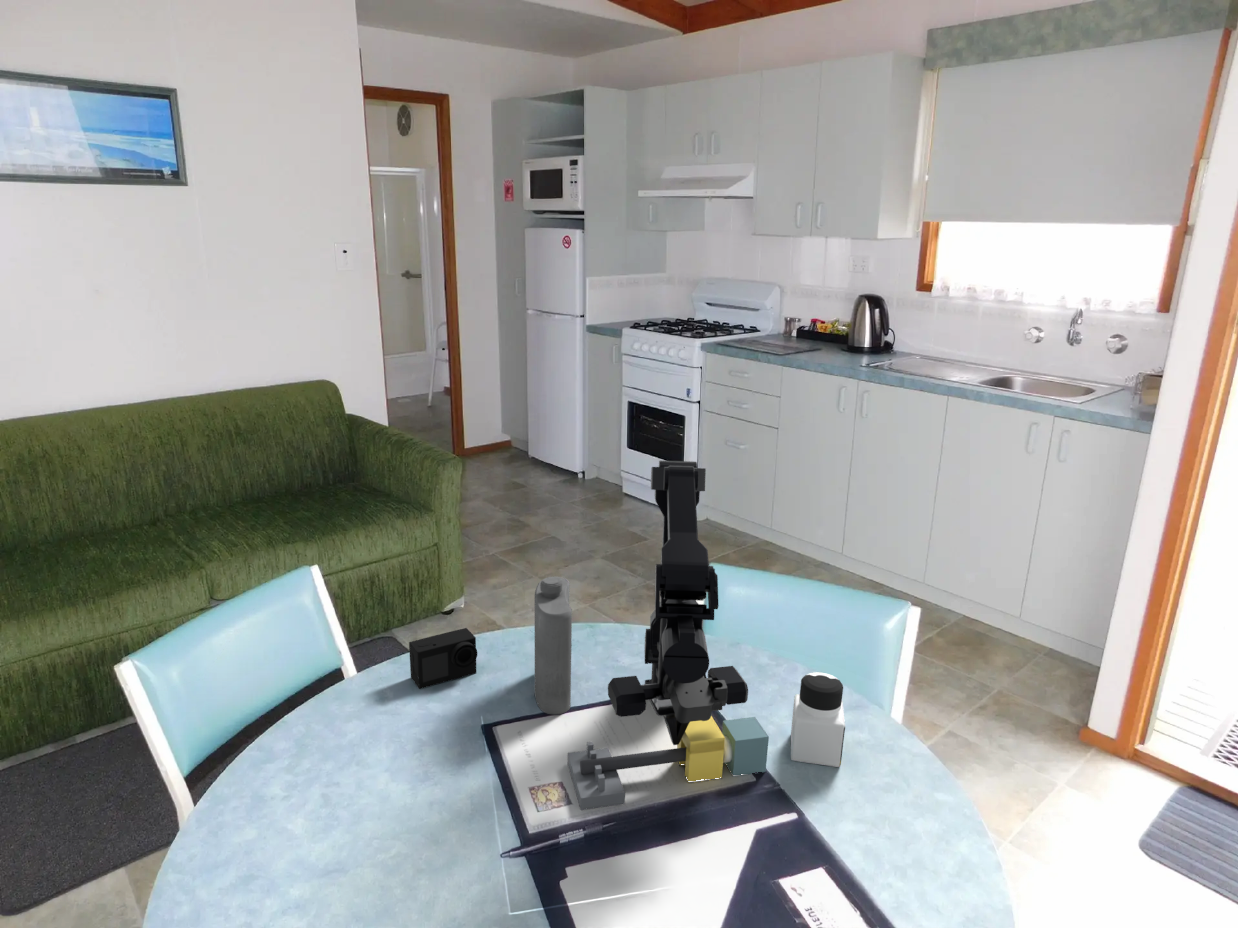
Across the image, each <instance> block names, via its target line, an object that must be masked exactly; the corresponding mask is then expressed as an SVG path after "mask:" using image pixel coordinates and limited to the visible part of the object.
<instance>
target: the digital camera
mask: <svg viewBox="0 0 1238 928" xmlns="http://www.w3.org/2000/svg"><path fill="white" fill-rule="evenodd" d="M476 638H477V637H476V636H475V635H474V634H473V633H472V632H471V631H470V629H468V628H467V627H463V628H460V629H456V630H451V631H448V632H444V633H441V634H436V635H432V636H427V637H424V638H420V639H416V640H413V641H412V640H411V641H409V642H408V649H409V652H408V653H409V666H410V667H409V668H410V670H409V671H410V679H411V680H412V681H413V683H414V684H415V686H416V687H417V688H418V689H419V690H422V689H424V688H428V687H432V686H435V685H439V684H443V683H446V682H450V681H453V680H457V679H460V678H463V677H467V676H471V675H473V674H477V658H478V650H477V641H476V640H477V639H476Z"/></svg>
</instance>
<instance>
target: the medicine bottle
mask: <svg viewBox="0 0 1238 928" xmlns="http://www.w3.org/2000/svg"><path fill="white" fill-rule="evenodd" d="M843 693H844V686H843V683H842V682H841V680H840V679H838V678H837V676H835V675H832V674H829V673H826V672H825V673H824V672H818V671H817V672H810V673H807V674H805V675H804V676H802V678H801V679H800V690H799V694H798V693H796V694H795V695H794V699H793V709H792V716H791V717H792V719H791V729H790V759H791V761H793V762H799V763H806V764H814V765H820V766H821V765H822V766H827V767H834V768H840V767H841V765H842V758H843V755H842V754H843V747H844V742H845V741H844V739H845V732H846V731H845V730H846V721H845V710H844V703H843V702H844V701H843Z"/></svg>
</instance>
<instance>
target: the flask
mask: <svg viewBox="0 0 1238 928" xmlns="http://www.w3.org/2000/svg"><path fill="white" fill-rule="evenodd" d="M570 583H571V582H570V581H569V580H568V579H567V578H566V577H562V576H548V577H545V578H543V579H541V580H540V581H539V582H538V583H537V585H536V587H535V591H534V697H535V701H536V704H537V707H538V708H539V709H540V710H541V711H542V712H544V714H547V715H554V716H556V715H562V714H566V712H568V711H569V710H570V709H571V705H572V704H571V703H572V702H571V701H572V695H571V693H572V636H573V634H572V627H573V626H572V624H573V623H572V622H573V621H572V620H573V618H572V617H573V616H572V615H573V613H572V612H573V609H572V607H571V606H570V597H571V596H570V589H571V588H570V586H571V585H570Z"/></svg>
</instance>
